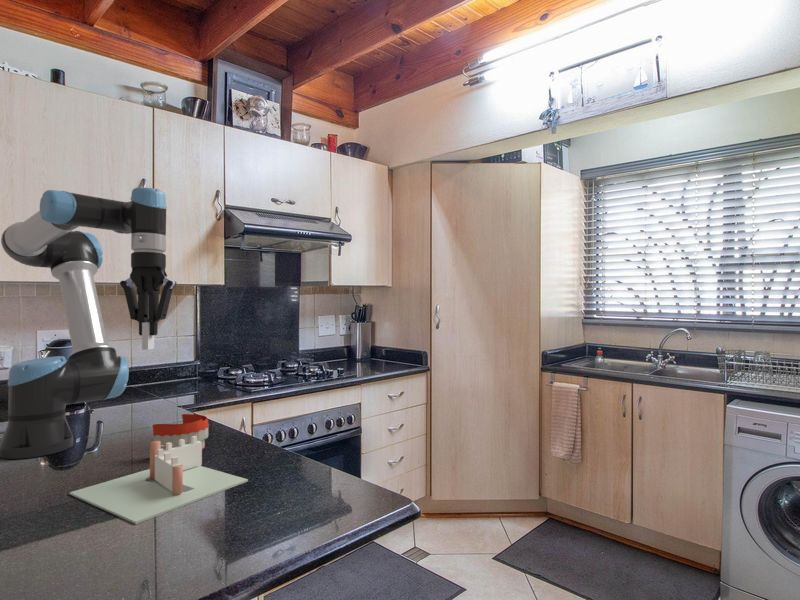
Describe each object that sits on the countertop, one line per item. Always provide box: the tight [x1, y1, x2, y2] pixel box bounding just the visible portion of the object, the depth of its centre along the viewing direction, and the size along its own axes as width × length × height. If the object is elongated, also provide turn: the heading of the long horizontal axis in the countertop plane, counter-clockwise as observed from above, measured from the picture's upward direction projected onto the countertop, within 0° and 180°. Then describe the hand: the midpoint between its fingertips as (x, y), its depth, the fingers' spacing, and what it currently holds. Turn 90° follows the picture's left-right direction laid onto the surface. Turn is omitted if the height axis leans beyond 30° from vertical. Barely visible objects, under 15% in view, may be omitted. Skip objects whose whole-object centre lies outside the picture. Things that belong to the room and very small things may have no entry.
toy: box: [152, 413, 210, 451], centre depth 119 cm, size 12×10×8 cm
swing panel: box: [155, 449, 183, 494], centre depth 94 cm, size 11×2×6 cm, turn 46°
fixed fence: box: [149, 436, 203, 480], centre depth 103 cm, size 2×12×8 cm, turn 147°
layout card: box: [69, 465, 249, 525], centre depth 95 cm, size 24×23×1 cm
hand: (148, 349), depth 115 cm, fingers closed
